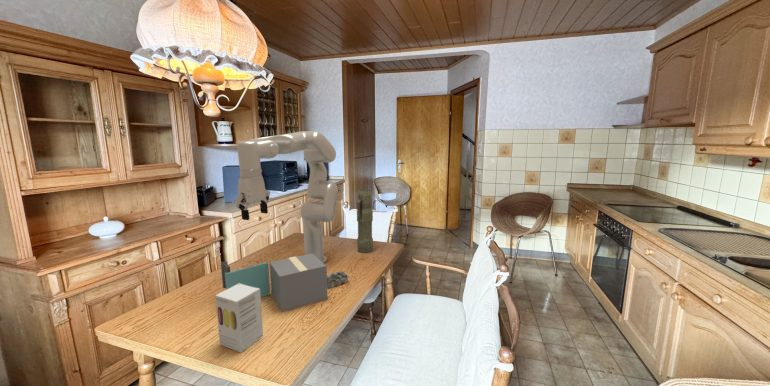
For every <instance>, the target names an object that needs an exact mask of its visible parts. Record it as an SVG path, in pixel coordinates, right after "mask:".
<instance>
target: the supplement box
mask: <svg viewBox="0 0 770 386" xmlns="http://www.w3.org/2000/svg"><path fill="white" fill-rule="evenodd" d="M215 305H216V314H217V315H216V316H217V317H216V318H217V327H218V338H219V341H218V342H219V345H221V346H223V347H225V348H227V349H231V350H232V351H235V352H238V353H243V352H244V351H245V350H247V349H248V348H249V347H251V346H252V345H254V344H255V343H256V342H258V340H260V339H261V338H263V337H264V331H263V330H264V329H263V327H264V325H263V314H262V297H261V295H260V289H259V288H255V287H251V286H247V285H243V284H240V283H239V284H237V285H235V286H233V287H231V288H229V289H227V290H226V289H225V290H223V291H220V292H219V293H217V294H216V295H215Z"/></svg>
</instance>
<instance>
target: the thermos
mask: <svg viewBox="0 0 770 386" xmlns="http://www.w3.org/2000/svg"><path fill="white" fill-rule="evenodd" d="M373 212H374V211H373V198H372V193H371V190H370V189H365V188H363V189H360V190H358V194H357V202H356V222H357V239H356V244H357V245H356V246H357V252H358V253H361V254H368V253H369V254H370V253H372V252H373V251H374V250H373V249H374V248H373V247H374V238H373V220H374V218H373V217H374V216H373Z"/></svg>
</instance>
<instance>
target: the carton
mask: <svg viewBox="0 0 770 386" xmlns="http://www.w3.org/2000/svg"><path fill="white" fill-rule="evenodd" d="M327 273H328V272H327V265H326V264H325V263H323V262H321V261H320V260H319V259H318V258H317V257H316V256H315V255H314V254H313V253H312V254H307V255H305V254H303V255H297V256H295V255H294V256H291V257H288V258H282V259H277V260H273V261H269V278H270V293H271V295H272V297H273V299H274V301H275V302H276V304H277V306H278V308H279V310H280V311H281V313H284V312H286V311H290V310H293V309H297V308H301V307H304V306H308V305H311V304H315V303H319V302H323V301H325V300H328V287H327V275H328V274H327Z"/></svg>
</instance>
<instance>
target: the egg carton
mask: <svg viewBox="0 0 770 386" xmlns="http://www.w3.org/2000/svg"><path fill="white" fill-rule="evenodd" d="M349 277H350V276H348V274H346V272H343V270H341V269H340V270H339V271H335V272H332V273H329V274H327V289H329V288H331V289H333V288H335V286H341V284H347V283H348V282H349Z"/></svg>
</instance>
